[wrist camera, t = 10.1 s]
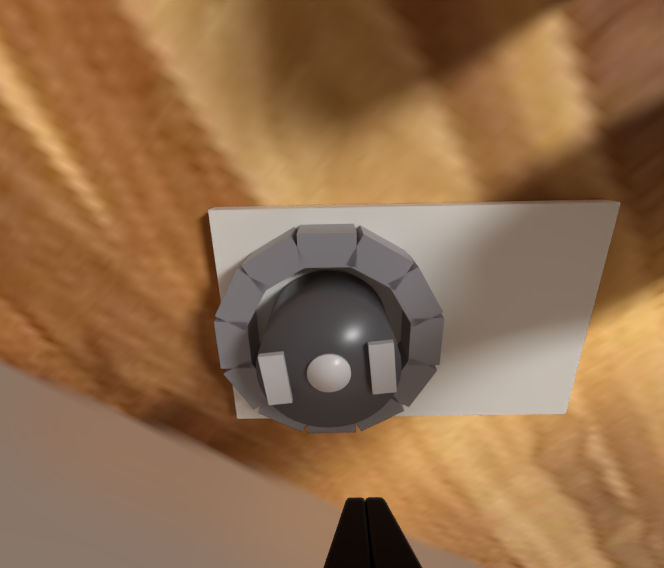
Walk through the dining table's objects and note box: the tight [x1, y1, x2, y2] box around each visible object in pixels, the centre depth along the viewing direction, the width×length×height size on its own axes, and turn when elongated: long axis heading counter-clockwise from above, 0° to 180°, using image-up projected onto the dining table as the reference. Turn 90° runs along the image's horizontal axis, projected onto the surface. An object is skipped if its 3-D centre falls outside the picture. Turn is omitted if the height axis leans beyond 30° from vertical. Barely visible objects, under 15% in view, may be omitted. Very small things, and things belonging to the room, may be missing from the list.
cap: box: [256, 270, 402, 428], centre depth 16 cm, size 6×6×4 cm
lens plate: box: [208, 199, 621, 433], centre depth 18 cm, size 19×12×3 cm, turn 91°
